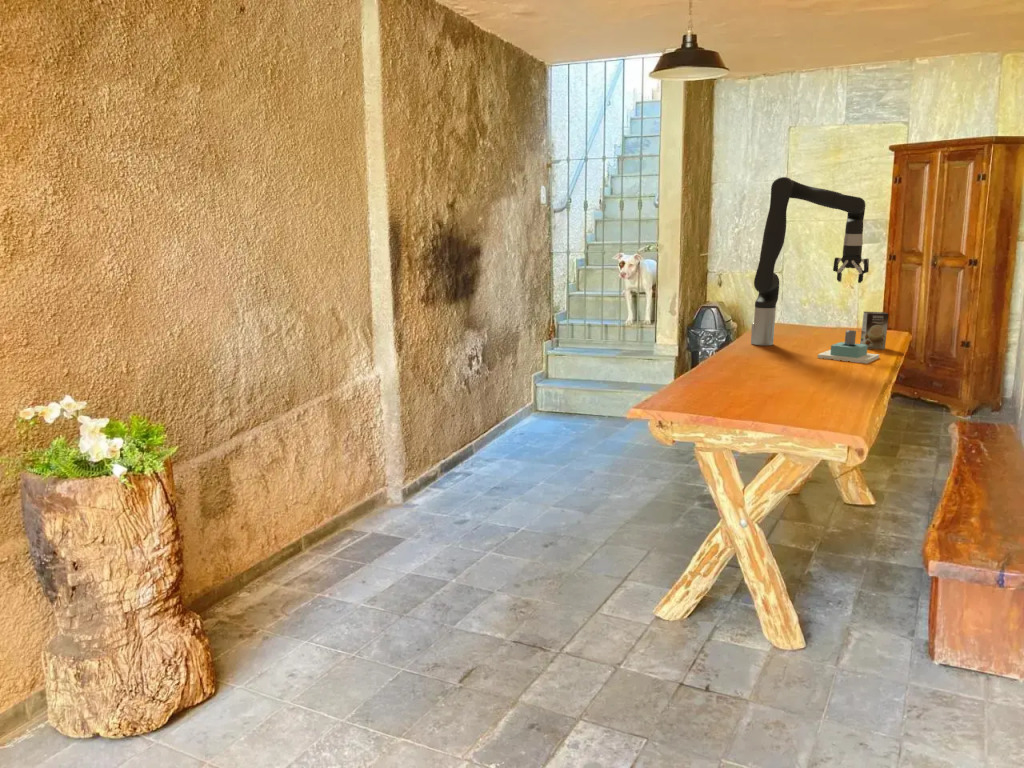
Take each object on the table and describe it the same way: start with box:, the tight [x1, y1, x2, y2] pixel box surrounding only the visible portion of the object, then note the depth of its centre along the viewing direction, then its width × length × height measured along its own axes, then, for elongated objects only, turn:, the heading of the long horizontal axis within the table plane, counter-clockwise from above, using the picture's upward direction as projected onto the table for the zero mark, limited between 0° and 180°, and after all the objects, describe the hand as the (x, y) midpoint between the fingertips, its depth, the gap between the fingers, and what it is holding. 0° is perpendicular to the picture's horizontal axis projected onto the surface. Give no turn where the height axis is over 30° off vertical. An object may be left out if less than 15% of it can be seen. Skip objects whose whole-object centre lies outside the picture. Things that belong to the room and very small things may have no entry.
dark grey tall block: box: [844, 329, 857, 347], centre depth 336 cm, size 4×4×10 cm
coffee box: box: [859, 311, 889, 350], centre depth 360 cm, size 9×6×16 cm
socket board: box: [817, 341, 880, 365], centre depth 337 cm, size 20×16×6 cm
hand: (849, 282), depth 350 cm, fingers open, 8 cm apart
